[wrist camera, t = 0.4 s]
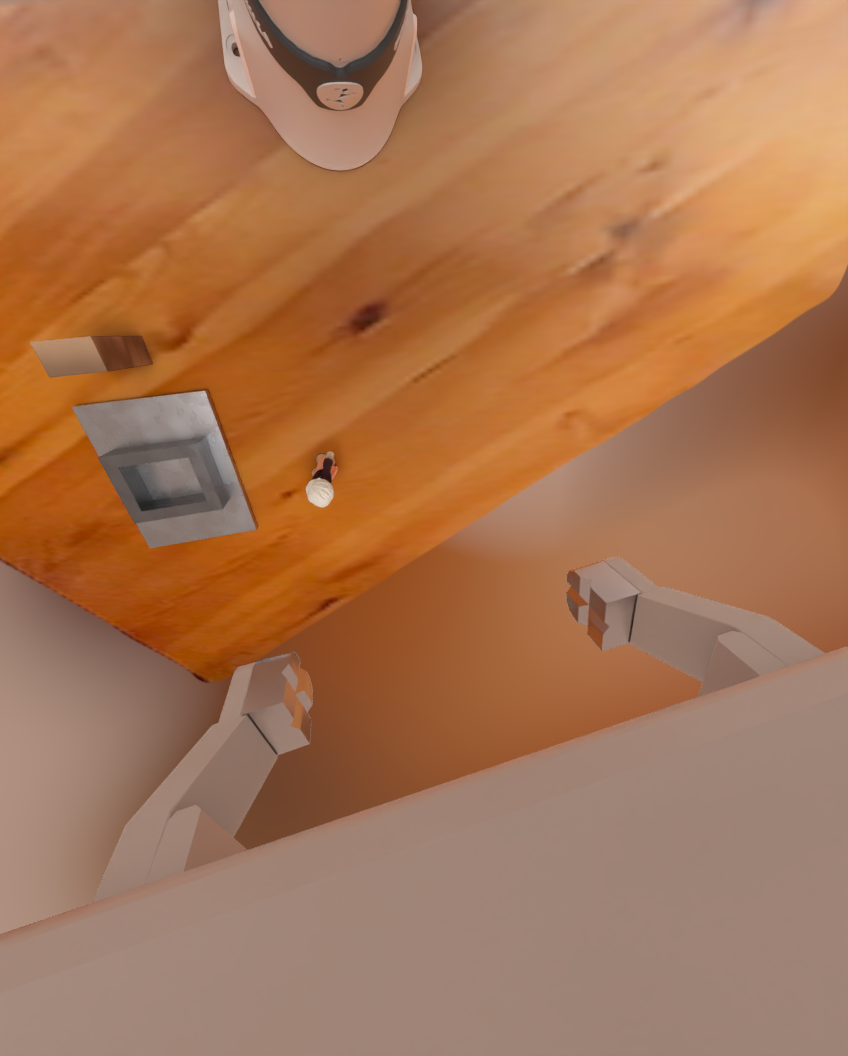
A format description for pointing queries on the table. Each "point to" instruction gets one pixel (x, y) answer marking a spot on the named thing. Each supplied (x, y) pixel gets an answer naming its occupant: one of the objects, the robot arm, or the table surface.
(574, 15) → the table surface
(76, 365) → the walnut wedge
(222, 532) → the grey socket base
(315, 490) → the grandmother figurine
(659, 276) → the table surface
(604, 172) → the table surface
